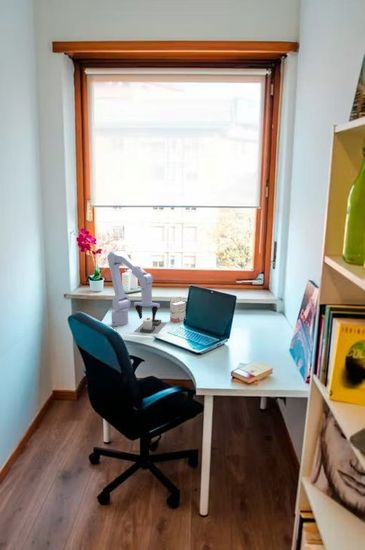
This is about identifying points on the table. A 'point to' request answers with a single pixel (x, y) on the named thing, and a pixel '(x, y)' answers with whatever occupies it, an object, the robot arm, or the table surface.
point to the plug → (147, 324)
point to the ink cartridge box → (177, 309)
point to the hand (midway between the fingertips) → (147, 318)
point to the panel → (156, 327)
